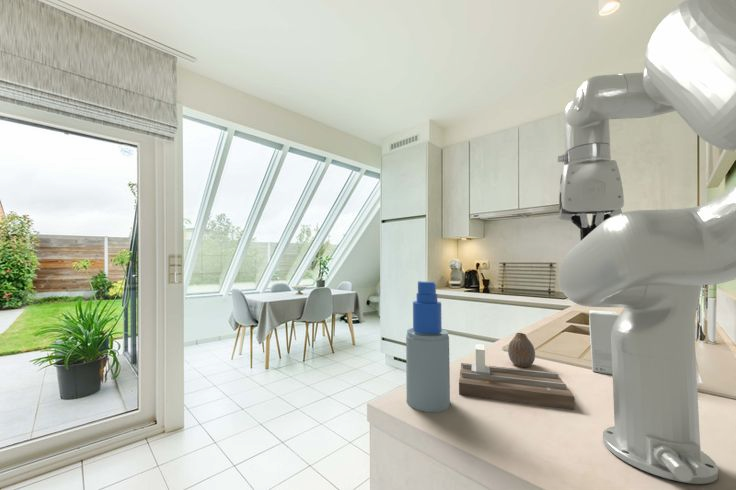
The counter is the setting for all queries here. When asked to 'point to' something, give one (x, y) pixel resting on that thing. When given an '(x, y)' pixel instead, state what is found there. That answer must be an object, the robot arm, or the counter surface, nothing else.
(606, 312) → the skincare box
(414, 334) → the spray bottle
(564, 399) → the fader console
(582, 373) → the counter surface
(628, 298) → the robot arm
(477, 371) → the fader slider
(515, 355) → the vase
